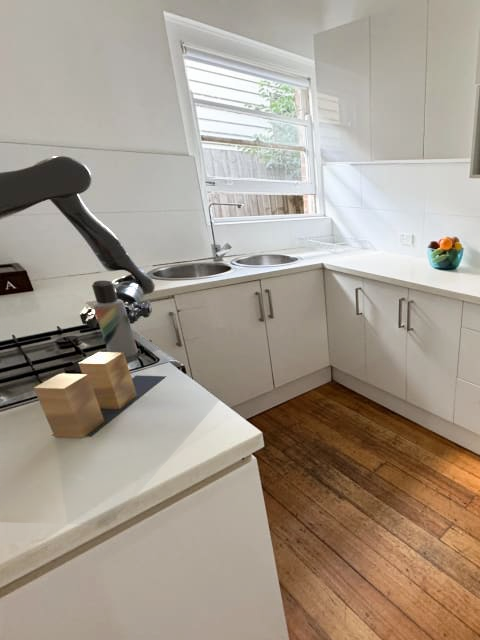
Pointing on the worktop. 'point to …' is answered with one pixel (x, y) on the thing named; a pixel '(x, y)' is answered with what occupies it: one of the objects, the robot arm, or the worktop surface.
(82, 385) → the oak block
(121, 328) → the lotion bottle
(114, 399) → the oak block
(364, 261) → the worktop surface
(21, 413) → the worktop surface
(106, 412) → the mat
